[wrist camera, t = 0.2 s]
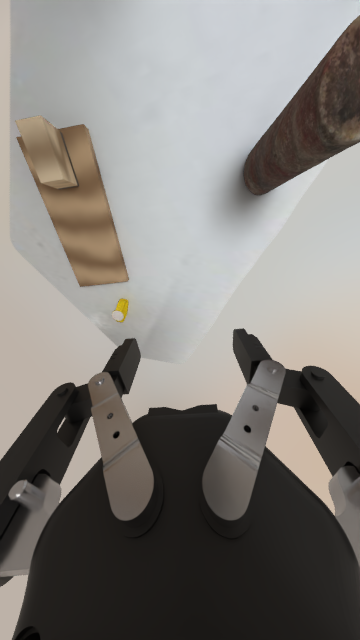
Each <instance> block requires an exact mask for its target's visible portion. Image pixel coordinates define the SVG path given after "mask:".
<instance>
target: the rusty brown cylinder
mask: <svg viewBox="0 0 360 640" xmlns="http://www.w3.org/2000/svg"><path fill="white" fill-rule="evenodd" d="M359 142H360V16H358V17H357V18H356V19H355V20H354V21H353V22H352V23H351V24H350V25H349V26H348V27H347V29H346V30H345V31H344V32H343V33H342V35H341V36H340V37H339V38H338V40H337V41H336V42H335V44H334V45H333V46H332V48H331V49H330V50H329V52H328V53H327V54H326V55H325V57H324V58H323V59H322V60H321V62H320V63H319V64H318V66H317V67H316V68H315V70H314V71H313V72H312V73H311V75H310V76H309V77H308V79H307V80H306V81H305V83H304V84H303V85H302V86H301V88H300V89H299V90H298V91H297V93H296V94H295V95H294V97H293V98H292V99H291V101H290V102H289V103H288V104H287V106H286V107H285V108H284V110H283V111H282V112H281V113H280V115H279V116H278V117H277V118H276V120H275V121H274V122H273V124H272V125H271V126H270V127H269V129H268V130H267V131H266V132H265V134H264V135H263V136H262V137H261V139H260V140H259V141H258V143H257V144H256V145H255V147H254V148H253V149H252V151H251V152H250V154H249V155H248V158H247V160H246V163H245V169H244V179H245V184H246V186H247V188H248V189H249V190H250V191H251V192H252V193H253V194H255V195H262V194H265V193H267V192H269V191H271V190H273V189H275V188H276V187H278V186H280V185H282V184H283V183H285V182H287V181H288V180H290V179H292V178H294V177H296V176H297V175H299V174H301V173H303V172H305V171H307V170H308V169H310V168H312V167H314V166H316V165H318V164H320V163H321V162H323V161H325V160H327V159H329V158H330V157H332V156H334V155H335V154H338V153H340V152H342V151H343V150H345V149H347V148H349V147H351V146H353V145H355V144H357V143H359Z"/></svg>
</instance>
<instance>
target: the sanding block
mask: <svg viewBox="0 0 360 640" xmlns="http://www.w3.org/2000/svg"><path fill="white" fill-rule="evenodd" d="M15 122H16V124H17V127H18V129H19V132H20V134H21V136H22V139H23V141H24V144H25V146H26V148H27V151H28V153H29V156H30V158H31V160H32V163H33V165H34V168H35V170H36V172H37V175H38V177H39V180H40V182H41V183H42V184H45V185H48V186H51V187H54V188H57V189H59V190H60V189H66V188H72V187H78V186H79V183H78V180H77V177H76V174H75V171H74V168H73V165H72V162H71V159H70V156H69V153H68V150H67V147H66V144H65V141H64V138H63V134H62V133H61V132H60V131H59V130H58V129H57V128H55V127H54V126H53V125H52V124H50V123H49V122H48V121H47V120H46V119H44V118H43V117H42V116H36V117H31V118H26V119H21V120H16V121H15Z"/></svg>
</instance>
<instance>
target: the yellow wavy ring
mask: <svg viewBox="0 0 360 640" xmlns="http://www.w3.org/2000/svg"><path fill="white" fill-rule="evenodd" d="M127 310H128V300H126V299H120V300H119V302H118V304H117V307H116V310H114V311H113V313H112V317H113V319H115V320H116V321H117V322H123V321H124V320H125V318H126V315H127Z"/></svg>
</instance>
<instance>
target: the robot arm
mask: <svg viewBox="0 0 360 640" xmlns="http://www.w3.org/2000/svg"><path fill="white" fill-rule="evenodd" d="M233 350H234V354H235V356H236V359H237V361H238V363H239V366H240V368H241V371H242V373H243V375H244V378H245V380H246V382H247V386H246V388H245V391H244V393H243V395H242V397H241V399H240V401H239V403H238V405H237V407H236V409H235V412H234V413H233V415H230V414H228V413H226V412H223V411H220V410H218V409H217V404H213V405H200V406H196V407H193V408H189V409H186V410H183V411H181V410H176V409H171V408H166V407H161V408H149V412H148V414H147V415H144V416H142V417H140V418H139V419H137V420H136V421H135V422H133V423H132V421H131V419H130V417H129V415H128V413H127V410H126V408H125V406H124V403H123V402H122V399H121V398H122V395H123V394H129V391H130V388H131V385H132V383H133V380H134V377H135V374H136V371H137V368H138V365H139V362H140V358H141V355H140V350H139V347H138V344H137V341H136V339H135V338H132V339H125V341H124V343H123V344H122V345H121V346H119V347H118V348H117V349H115V351H114V353H113V354H112V356H111V358H110V359H109V361H108V363H107V364H106V366H105V368H104V370H103V371H102V373H99V374H97V375H95V376H94V377H92V378H91V379H90V381H89V383H88V384H85V385H82V386H79V387H76V386H75V385H74V383H65V384H63V385H61V386H59V387H58V388H56V389H55V390H54V391H53V392H52V393H51V395H50V396H49V397H48V399H47V400H46V401H45V403H44V404H43V405H42V407H41V408H40V409H39V410H38V412H37V413H36V414H35V416H34V417H33V418H32V420H31V421H30V422H29V424H28V425H27V426H26V428H25V429H24V430H23V432H22V433H21V434H20V436H19V437H18V438H17V440H16V441H15V442H14V443H13V445H12V446H11V448H10V449H9V450H8V451H7V453H6V454H5V455H4V457H3V458H2V459H1V461H0V586H3V585H4V584H6V583H7V582H8V581H9V580H10V579H11V578H13V576H17V575H27V574H29V575H28V581H27V587H26V592H25V596H24V601H23V605H22V608H21V612H20V615H19V619H18V622H17V625H16V629H15V632H14V635H13V638H12V640H360V404H359V403H358V402H357V401H356V400H355V399H354V398H353V397H352V396H351V395H350V394H349V393H348V392H347V391H346V390H345V388H344V387H342V386H341V384H340V383H339V382H338V381H337V380H336V379H335V378H334V377H333V376H332V375H331V374H330V373H329V372H327V371H326V370H324V369H322V368H319V367H316V366H306V367H304V368H303V369H302V372H301V371H295V370H289V369H285V368H284V366H283V365H282V364H280V363H279V362H277V361H274V360H272V358H271V357H270V355H269V354H268V353H267V351H266V350H265V348H264V347H263V345H262V344H261V343H260V341H259V340H258V338H257V337H255V336H254V335H252V334H247V332H246V331H245V329H234V331H233ZM277 403H280V404H284V405H288V406H292V407H294V408H295V410H296V412H297V414H298V415H299V417H300V419H301V421H302V423H303V424H304V426H305V428H306V430H307V432H308V433H309V435H310V437H311V439H312V440H313V442H314V444H315V446H316V448H317V449H318V451H319V453H320V455H321V456H322V458H323V460H324V462H325V464H326V465H327V467H328V469H329V471H330V472H331V474H332V476H333V477H332V479H331V480H330V482H329V491H330V495H331V497H332V500H333V503H334V506H335V516H334V515H333V513H332V512H331V511H330V510H329V508H328V507H327V506H326V505H325V503H324V502H323V501H322V500H321V499H320V498H319V497H318V496H317V495H316V494H315V493H313V492H312V491H311V490H310V489H309V488H308V487H307V486H306V485H305V484H304V483H303V482H302V481H301V480H300V479H299V478H298V477H297V476H296V475H295V474H294V473H293V472H292V471H291V470H289V468H287V467H286V466H285V465H284V464H283V463H282V462H281V461H280V460H279V459H278V458H277V457H276V456H275V455H274V454H273V453H272V452H271V451H270V450H269V449H268V448H266V446H265V445H266V441H267V438H268V434H269V431H270V427H271V423H272V420H273V416H274V413H275V409H276V405H277ZM91 416H93V420H94V425H95V429H96V433H97V438H98V442H99V447H100V451H101V456H102V457H101V458H100V460H98V462H97V463H96V464H95V465H94V466H93V467H92V468H91V469H90V470H89V471H88V473H87V474H86V475H85V476H84V477H83V478H82V479H81V480H80V481H79V483H78V484H77V485H76V486H75V487H74V488H73V489H72V490H71V491H70V492H69V494H68V495H67V496H66V497H65V498H64V499H63V500H62V501H61V503H59V500H60V497H61V487H60V483H61V481H62V479H63V477H64V474H65V472H66V470H67V468H68V466H69V463H70V461H71V459H72V456H73V454H74V452H75V450H76V448H77V446H78V443H79V441H80V438H81V437H82V434H83V432H84V430H85V428H86V425H87V423H88V421H89V419H90V417H91ZM64 417H65V418H66V419H65V421H64V422H63V424H62V426H61V428H60V429H59V431H58V433H57V429H58V427H59V425H60V424H61V422H62V420H63V419H64Z"/></svg>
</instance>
